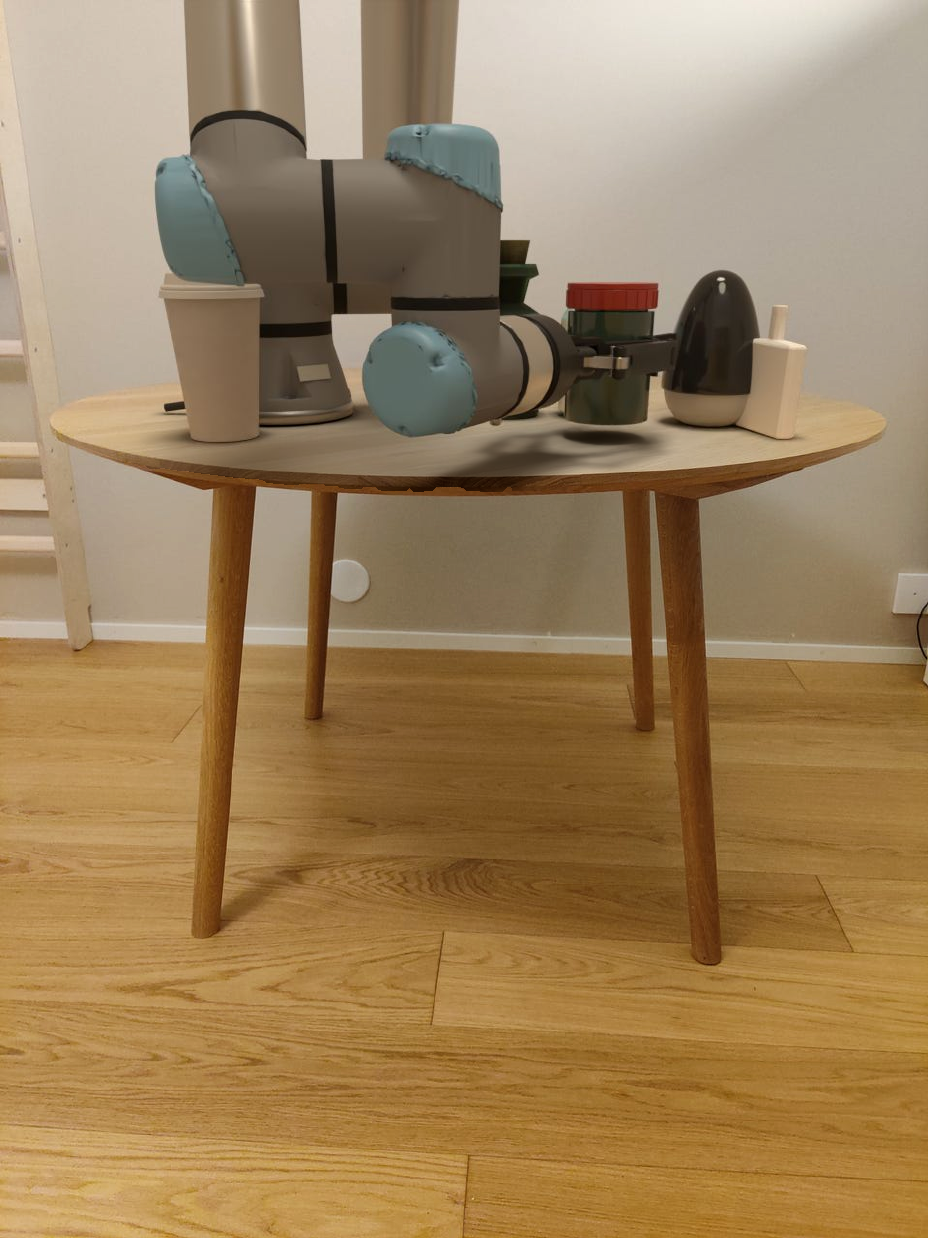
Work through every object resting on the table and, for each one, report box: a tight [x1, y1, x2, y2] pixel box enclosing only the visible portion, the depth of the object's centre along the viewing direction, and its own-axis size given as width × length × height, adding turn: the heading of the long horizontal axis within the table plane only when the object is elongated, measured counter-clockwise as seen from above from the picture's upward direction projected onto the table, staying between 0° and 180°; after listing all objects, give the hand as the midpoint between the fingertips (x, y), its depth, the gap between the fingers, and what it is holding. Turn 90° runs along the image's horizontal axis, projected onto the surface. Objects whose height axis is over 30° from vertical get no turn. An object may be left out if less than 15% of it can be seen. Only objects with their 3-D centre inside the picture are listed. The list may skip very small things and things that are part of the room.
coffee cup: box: [158, 271, 265, 443], centre depth 87 cm, size 10×10×15 cm
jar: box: [563, 309, 656, 426], centre depth 87 cm, size 8×8×12 cm
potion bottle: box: [499, 239, 540, 420], centre depth 99 cm, size 8×8×18 cm
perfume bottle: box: [734, 304, 808, 440], centre depth 90 cm, size 8×2×12 cm, turn 15°
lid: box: [565, 281, 660, 310], centre depth 85 cm, size 8×8×2 cm
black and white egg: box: [660, 269, 761, 428], centre depth 95 cm, size 10×10×15 cm
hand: (629, 345), depth 91 cm, fingers closed on jar, 8 cm apart
